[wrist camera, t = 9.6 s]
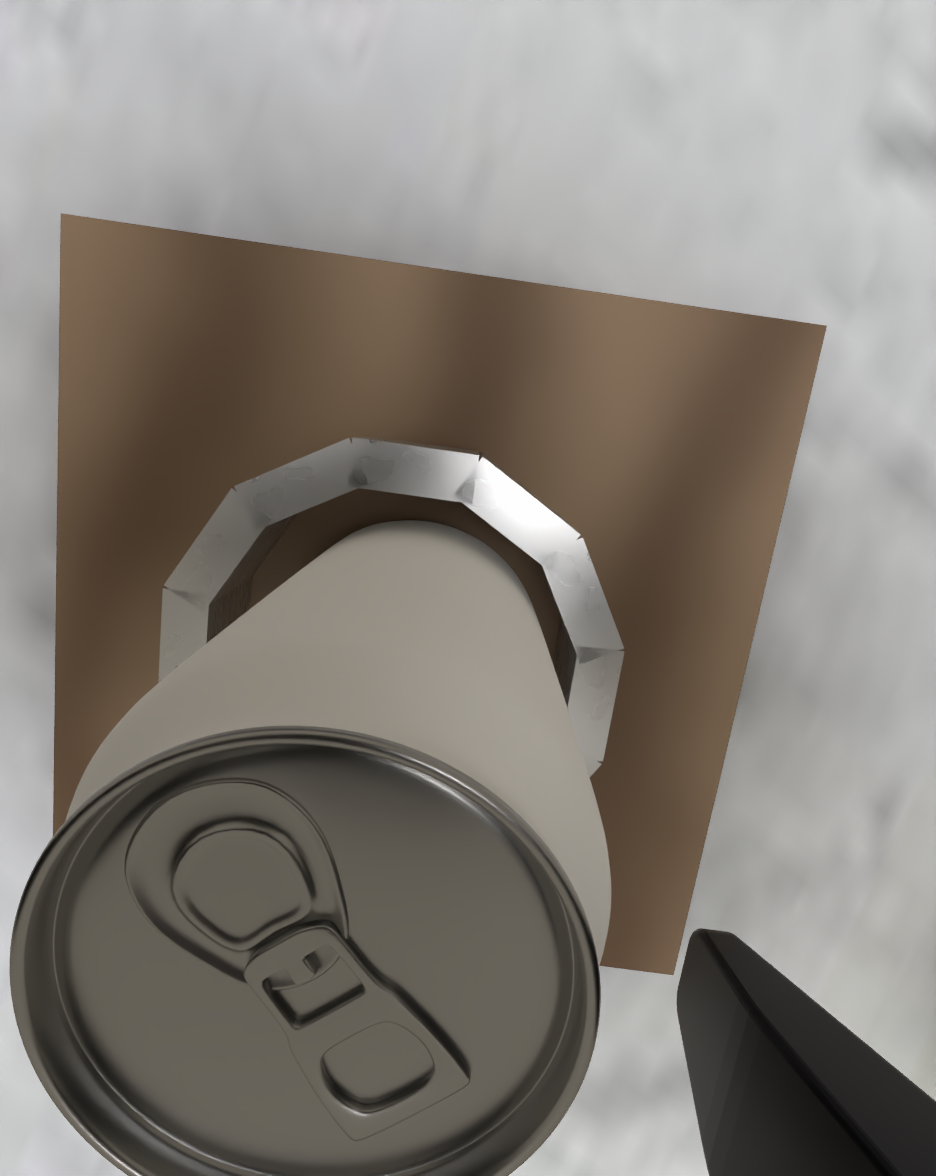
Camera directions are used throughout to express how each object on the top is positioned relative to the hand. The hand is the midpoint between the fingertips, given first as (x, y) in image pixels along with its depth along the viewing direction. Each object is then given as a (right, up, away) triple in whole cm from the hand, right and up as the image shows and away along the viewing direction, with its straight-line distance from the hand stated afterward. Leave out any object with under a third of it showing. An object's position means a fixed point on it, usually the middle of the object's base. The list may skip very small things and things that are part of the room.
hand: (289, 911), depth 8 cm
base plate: (0, +2, +12) cm, 12 cm away
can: (+1, +2, +11) cm, 11 cm away
